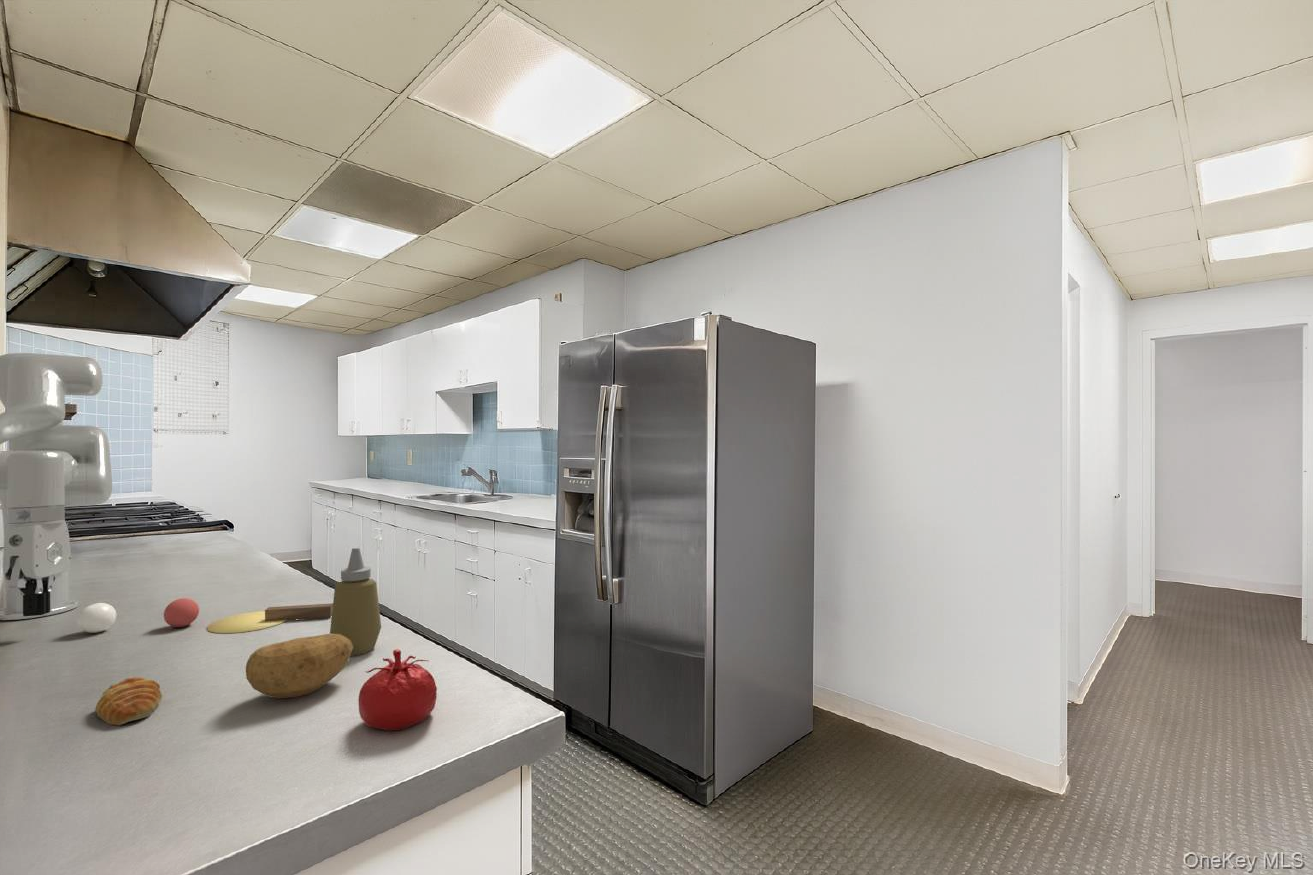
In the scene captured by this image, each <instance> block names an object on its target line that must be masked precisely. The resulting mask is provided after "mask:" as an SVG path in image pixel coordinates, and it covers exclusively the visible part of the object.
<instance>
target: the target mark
mask: <svg viewBox="0 0 1313 875" xmlns="http://www.w3.org/2000/svg"><path fill="white" fill-rule="evenodd" d="M285 621H286V620H278V621H265V610H260V611H259V610H258V611H252V612H244V613H239V614H234V615H230V616H226V617H223V618H219V619H217V620H216V621H213V622H211V623H209V624H208V625H207V626H206V630H207V631H208V632H210V633H214V634H241V633H247V632H248V631H249V632H254V631H260V630H264V629H269V628H272V627H271V626H273V627H275V626H274V625H276V626H278V625H281V624H283V622H284V623H286V622H287V621H286V622H285ZM268 627H269V628H268ZM249 632H248V633H249Z"/></svg>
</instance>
